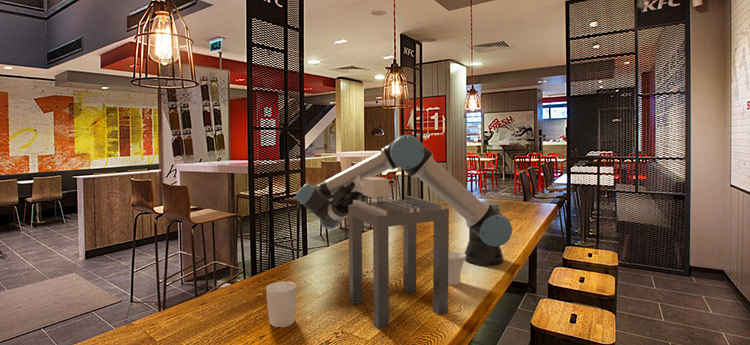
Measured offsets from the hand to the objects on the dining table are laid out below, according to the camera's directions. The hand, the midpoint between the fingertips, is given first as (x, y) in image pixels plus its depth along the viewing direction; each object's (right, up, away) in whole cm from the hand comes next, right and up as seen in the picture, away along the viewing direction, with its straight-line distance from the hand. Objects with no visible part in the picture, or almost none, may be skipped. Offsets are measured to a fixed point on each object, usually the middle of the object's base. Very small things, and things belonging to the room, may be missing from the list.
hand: (364, 179), depth 124 cm
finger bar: (+1, -4, -1) cm, 4 cm away
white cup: (-22, -39, -14) cm, 47 cm away
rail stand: (+10, -38, -5) cm, 39 cm away
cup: (+30, -36, +15) cm, 49 cm away
